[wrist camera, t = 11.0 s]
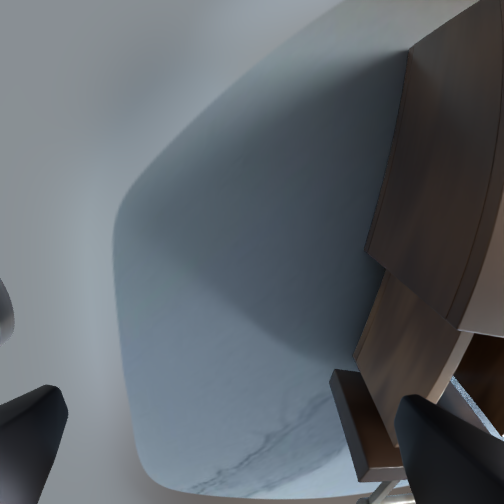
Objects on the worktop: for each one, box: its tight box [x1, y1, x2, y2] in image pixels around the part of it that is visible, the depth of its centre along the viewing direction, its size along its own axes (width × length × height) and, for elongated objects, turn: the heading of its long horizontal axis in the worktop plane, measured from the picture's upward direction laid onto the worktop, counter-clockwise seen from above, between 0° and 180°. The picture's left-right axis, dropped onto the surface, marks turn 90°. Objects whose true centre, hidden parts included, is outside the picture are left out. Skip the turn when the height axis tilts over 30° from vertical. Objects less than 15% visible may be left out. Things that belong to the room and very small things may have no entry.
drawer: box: [329, 269, 504, 504], centre depth 15 cm, size 17×10×9 cm, turn 166°
